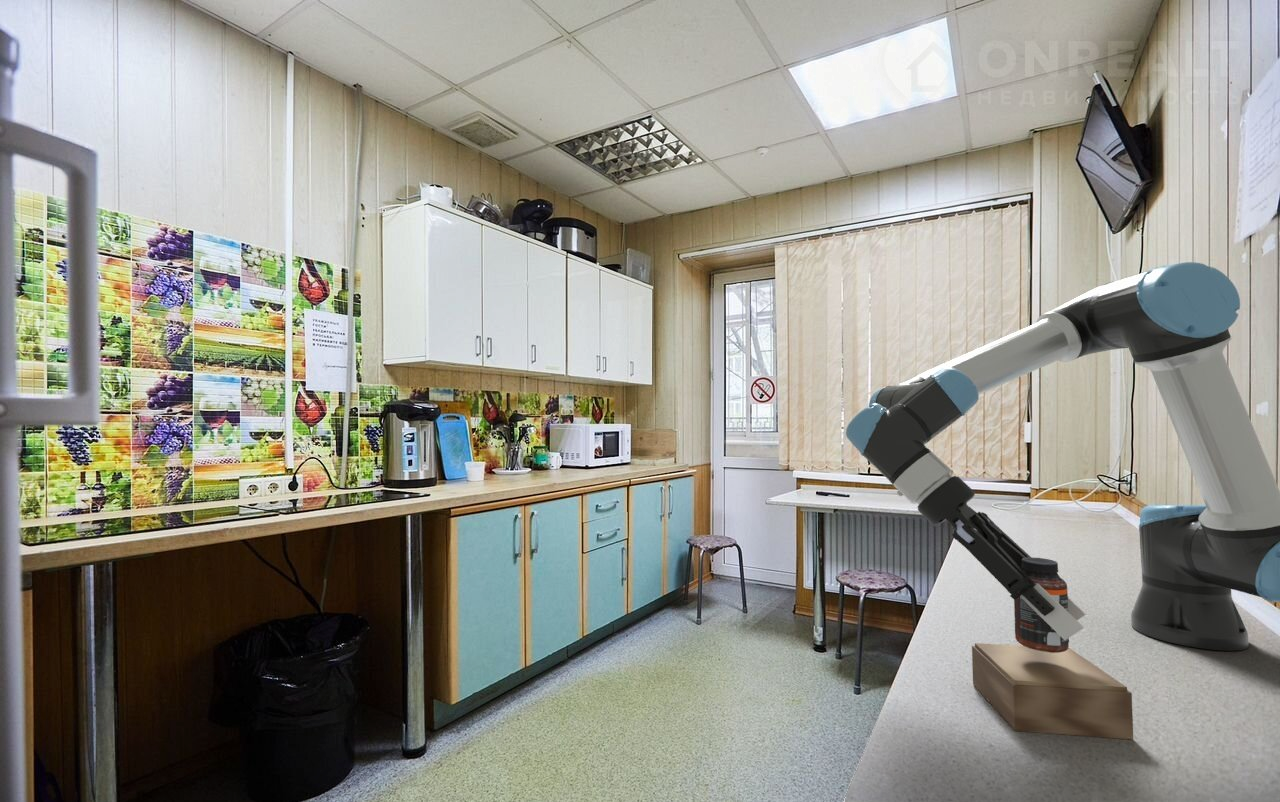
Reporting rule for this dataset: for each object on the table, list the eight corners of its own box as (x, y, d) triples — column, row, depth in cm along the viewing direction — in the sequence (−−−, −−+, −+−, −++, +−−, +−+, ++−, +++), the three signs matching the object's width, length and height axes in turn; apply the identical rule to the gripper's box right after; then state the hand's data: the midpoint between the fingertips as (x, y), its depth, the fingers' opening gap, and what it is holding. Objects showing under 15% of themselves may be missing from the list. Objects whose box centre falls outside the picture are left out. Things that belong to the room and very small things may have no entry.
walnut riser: (1071, 690, 82) (1070, 647, 83) (1133, 739, 70) (1131, 688, 70) (972, 684, 85) (971, 642, 85) (1014, 730, 72) (1013, 681, 72)
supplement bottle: (1071, 658, 73) (1068, 567, 74) (1015, 648, 77) (1013, 562, 77) (1067, 642, 78) (1064, 558, 79) (1014, 634, 82) (1012, 553, 82)
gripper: (931, 500, 95) (1057, 623, 84) (897, 514, 81) (1044, 665, 70) (967, 469, 92) (1102, 592, 81) (938, 478, 77) (1099, 630, 66)
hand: (1075, 626), depth 75 cm, fingers closed on supplement bottle, 6 cm apart
